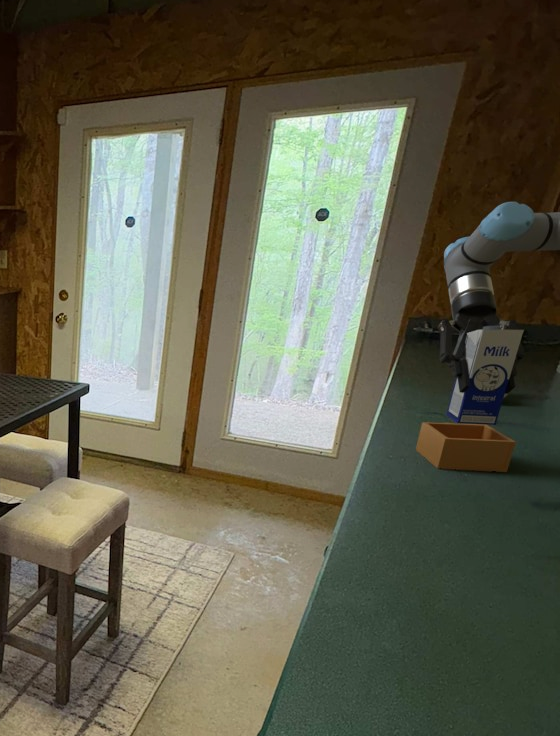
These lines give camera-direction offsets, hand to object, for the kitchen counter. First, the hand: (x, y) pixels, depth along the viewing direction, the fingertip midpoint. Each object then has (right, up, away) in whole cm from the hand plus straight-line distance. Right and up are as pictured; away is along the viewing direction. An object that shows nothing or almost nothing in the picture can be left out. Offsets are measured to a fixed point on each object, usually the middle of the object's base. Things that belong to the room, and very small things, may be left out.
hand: (486, 389), depth 130 cm
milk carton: (+1, -6, +6) cm, 8 cm away
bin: (+2, -14, +9) cm, 17 cm away
